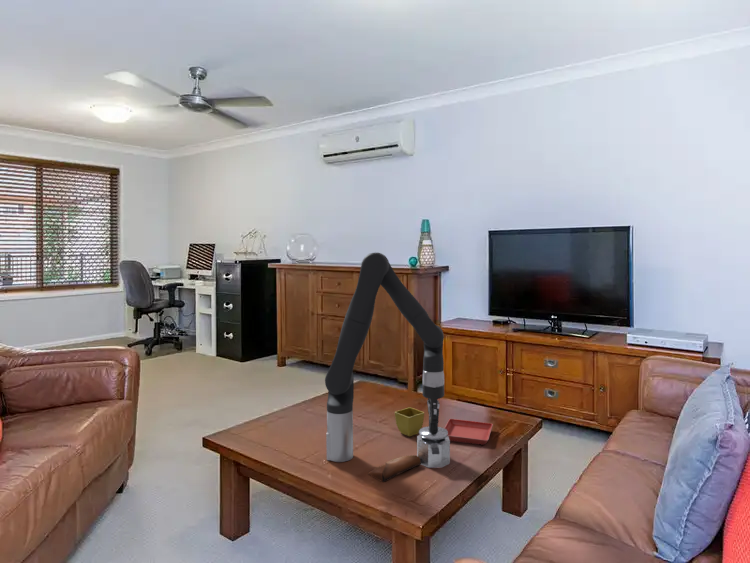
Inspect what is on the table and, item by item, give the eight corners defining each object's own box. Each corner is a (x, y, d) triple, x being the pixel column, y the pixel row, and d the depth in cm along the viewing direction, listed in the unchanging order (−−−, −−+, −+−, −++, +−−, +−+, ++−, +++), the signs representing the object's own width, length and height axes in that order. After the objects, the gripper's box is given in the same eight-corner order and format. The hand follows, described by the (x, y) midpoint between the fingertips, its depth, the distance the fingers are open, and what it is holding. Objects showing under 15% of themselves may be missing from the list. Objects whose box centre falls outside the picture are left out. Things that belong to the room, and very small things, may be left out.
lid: (420, 444, 171) (420, 422, 170) (418, 433, 181) (418, 412, 180) (449, 444, 171) (449, 422, 170) (445, 433, 180) (446, 412, 180)
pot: (419, 471, 168) (419, 448, 167) (415, 450, 185) (415, 429, 184) (452, 471, 168) (452, 448, 167) (445, 450, 185) (445, 429, 184)
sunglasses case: (403, 457, 178) (410, 445, 175) (415, 473, 174) (423, 460, 171) (366, 474, 166) (373, 460, 163) (378, 491, 162) (386, 477, 159)
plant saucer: (488, 448, 187) (488, 439, 187) (440, 442, 193) (440, 434, 193) (493, 431, 204) (493, 423, 204) (449, 426, 210) (449, 418, 210)
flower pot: (408, 439, 195) (408, 417, 194) (394, 433, 202) (394, 411, 201) (424, 434, 201) (425, 412, 200) (409, 428, 207) (409, 406, 207)
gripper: (420, 377, 181) (421, 424, 182) (424, 388, 167) (424, 439, 168) (441, 377, 181) (441, 423, 182) (446, 388, 167) (446, 439, 168)
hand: (433, 430), depth 175 cm, fingers closed on lid, 3 cm apart
